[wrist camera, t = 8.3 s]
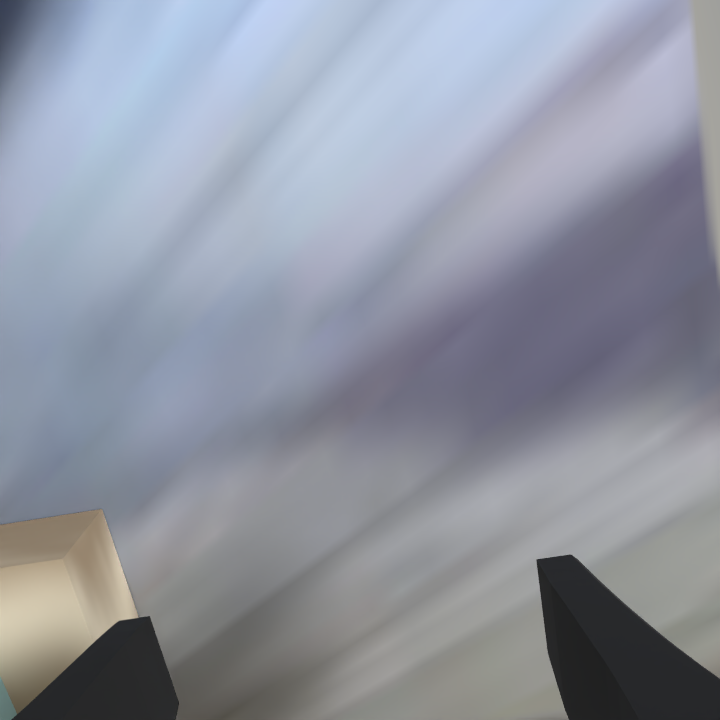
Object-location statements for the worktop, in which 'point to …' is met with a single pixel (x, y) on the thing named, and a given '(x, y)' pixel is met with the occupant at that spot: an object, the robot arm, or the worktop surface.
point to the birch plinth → (55, 597)
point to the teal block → (6, 704)
